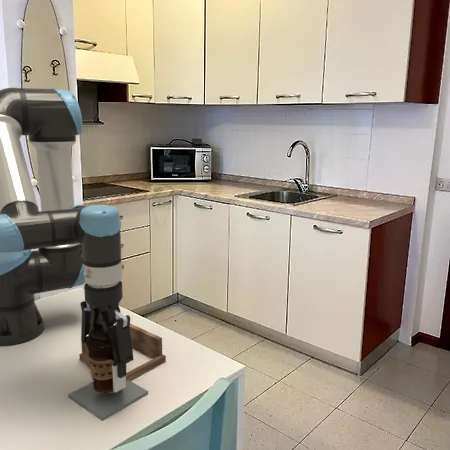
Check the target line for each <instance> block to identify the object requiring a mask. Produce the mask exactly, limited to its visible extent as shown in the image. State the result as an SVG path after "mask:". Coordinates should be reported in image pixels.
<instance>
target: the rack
mask: <svg viewBox="0 0 450 450" xmlns="http://www.w3.org/2000/svg"><path fill="white" fill-rule="evenodd" d="M130 334H131V342H132V350H133V351H136V352H139V353H140V354H143V355H144V356H146V357H148V358H150V360H149V361H146V362H144V363H142V364H141V365H139V366H137V367H135V368H133V369H132V370H129V371H126V372H127V374H126V381H127V380H129V381H131V382H132V381H133V380H135V379H137V378H138V377H140V376H142V375H144V374H145V373H148V372H150V371H151V370H154V369H155V368H156V367H158V366H161V365H163V364H165V363H166V361H167V359H166V357H167V356H166V355H165V354H163V337H161V336H159V335H157V334H154V333H152V332H149V330H146V329H143V328H141V327H139V326H138V325H134V324H132V323H130ZM80 342H81V341H80ZM88 354H89V352H88V348H87V347H86V343H82V342H81V352H80V354H78V355H79V361H81V363H84V364H86V365H87V366H89V367H90V365H89V358H88Z"/></svg>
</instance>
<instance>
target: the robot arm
mask: <svg viewBox="0 0 450 450" xmlns="http://www.w3.org/2000/svg"><path fill="white" fill-rule="evenodd" d="M82 132H83V116H82V112H81V108H80V105H79V102H78V100H77V98H76V95H74V93H73V92H72V91H70V90H66V89H58V88H32V87H31V88H25V87H24V88H23V87H19V88H18V87H6V88H2V89H0V346H12V345H13V346H14V345H18V344H22V343H25V342H28V341H31V340H33V339H36V338H37V337H39V336H40V335H41V334H42V333H43V332H44V330H45V327H44V325H45V323H44V318H43V316H42V314H41V313H40V310H39V308H38V306H37V304H36V299H35V294H36V295H37V294H40V293H47V292H53V291H58V290H64V289H73V288H74V287H75V288H76V287H80V286H83V291H84V300H82V301H81V302H80V309H81V331H80V333H81V334H80V342H82V343H86V341H87V337H88V336H89V333H90V331H91V330H92V329H93V330H95V329H98V328H101V327H103V329H104V332H105V333H107V335H108V339H112V342H111V343H112V346H113V351H112V353H113V357H114V361H115V362H114V363H112V371H113V391H114V392H115V393H116V392H118V391H120V390H121V389H123V388H125V387H126V374H127V372H128V371H127V364H128V363H131V362H132V361H134V352H133V351H134V349H132V342H131V334H130V324H131V317H130V315H129V314H126V315H124V314H123V313H121V312H122V311H121V309H120V302H121V301H122V299H123V282H122V279H123V269H122V268H123V267H122V264H123V263H122V245H121V244H122V243H121V242H122V241H121V239H122V238H121V228H122V227H121V226H122V223H121V218H120V210H119V209H118V208H117V207H116V206H114V205H109V204H91V205H87V204H81V203H79V204H75V196H74V195H75V194H74V182H73V180H74V179H73V166H72V152H71V151H72V150H71V149H72V147H73V146H74V145H75V144H76V142H77V136H79V135H81V134H82ZM22 136H28V141H29V144H31V145H32V146H33V147H34V148H35V151H36V160H37V174H38V185H39V199H40V200H39V201H40V209H41V210H39V205H38V202H37V198H36V194H35V190H34V187H33V184H32V180H31V176H30V175H31V174H30V172H29V167H28V164H27V161H26V157H25V153H24V151H23V147H22V142H21V137H22ZM112 325H114V326H112ZM109 326H112V327H110V328H109ZM86 347H87V344H86ZM88 352H89V351H88ZM89 373H90V372H89ZM89 377H90V378H91V379H93V377H92V376H91V373H90V374H89Z"/></svg>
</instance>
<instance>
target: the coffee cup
mask: <svg viewBox="0 0 450 450" xmlns="http://www.w3.org/2000/svg"><path fill="white" fill-rule="evenodd" d="M114 325H115V324H114ZM114 325H112V326H114ZM112 326H109V328H110V327H112ZM88 335H89V336H88ZM88 335H87V336H88V337H87V341H86V344H87V348H88V351H89V354H88V358H89V365H90V366H89V365H88V366H89V373H91V376H92V377H93V378H92V382H93V388H94V390H95V391H97V392H99V393H113V392H114V391H113V371H112V363H114V362H115V361H114V357H113V353H112V351H113V346H112V343H111V342H112V339H108V335H107V333H105V332H104V329H103V327H101V328H98V329H95V330H93V329H92V330H91V331H90V333H89V334H88Z"/></svg>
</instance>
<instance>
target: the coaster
mask: <svg viewBox="0 0 450 450" xmlns="http://www.w3.org/2000/svg"><path fill="white" fill-rule="evenodd" d="M148 394H149V391H148V390H147V389H145V388H143V387H141V386H140V385H139V384H136V383H135V382H132V380H131V381H129V380H127V381H126V387H125V388H123V389H121V390H120V391H118V392H116V393H115V392H113V393H99V392H97V391H95V390H94V388H93V381H92V382H90V383H88V384H86V385H85V386H84V385H83V387H80V388H78V389H77V390H75V391H72V392H70V393H68V395H67V396H68V398H69V399H71V400H72V401H73V402H75V403H76V404H78V405H79V406H80V407H82V408H83V409H85V410H86V411H87V412H90V413H91V414H92V415H94V416H95V417H97V418H98V419H99V420H101V421H103V422H104V420H106V419H107V418H110V417H112V416H113V415H114V414H116V413H118V412H120V411H122V410H123V409H125V408H126V407H128V406H130V405H131V404H133V403H135V402H136V401H138V400H140V399H142V398H143V397H145V396H147V395H148Z"/></svg>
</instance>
